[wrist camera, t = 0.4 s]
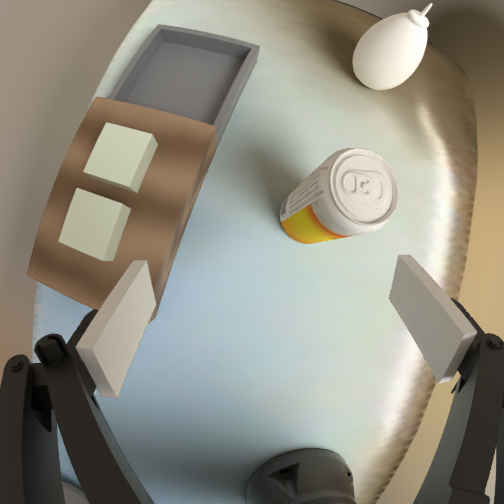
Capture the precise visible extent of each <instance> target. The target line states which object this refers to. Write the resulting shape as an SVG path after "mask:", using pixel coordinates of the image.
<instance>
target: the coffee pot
mask: <svg viewBox="0 0 504 504" xmlns="http://www.w3.org/2000/svg"><path fill="white" fill-rule="evenodd" d="M62 486H63V492H64V498H65V503H66V504H89V502H88V500H87V498H86V496H85V493H84V492H83V491H82V490H81V489H79V488H78V487H76V486H74V485H72V484H70V483H68V482H64V481H62Z"/></svg>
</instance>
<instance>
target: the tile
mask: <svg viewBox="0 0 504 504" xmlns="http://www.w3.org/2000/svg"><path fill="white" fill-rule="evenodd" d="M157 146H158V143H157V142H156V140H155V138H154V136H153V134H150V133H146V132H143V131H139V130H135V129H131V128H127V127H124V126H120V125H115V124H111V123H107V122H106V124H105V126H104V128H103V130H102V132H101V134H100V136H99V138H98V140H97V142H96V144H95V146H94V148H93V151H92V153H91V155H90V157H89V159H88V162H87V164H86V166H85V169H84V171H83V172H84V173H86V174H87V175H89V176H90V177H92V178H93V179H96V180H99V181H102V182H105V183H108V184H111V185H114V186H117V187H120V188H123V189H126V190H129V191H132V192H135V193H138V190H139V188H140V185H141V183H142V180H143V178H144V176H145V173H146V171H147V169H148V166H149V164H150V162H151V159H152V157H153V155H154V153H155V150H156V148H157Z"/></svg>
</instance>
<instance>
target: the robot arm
mask: <svg viewBox="0 0 504 504" xmlns="http://www.w3.org/2000/svg"><path fill="white" fill-rule="evenodd" d="M389 299H390V301H391V303H392V304H393V306H394V307H395V309H396V311H397V312H398V314H399V315H400V317H401V319H402V320H403V322H404V324H405V325H406V327H407V328H408V330H409V332H410V333H411V335H412V337H413V339H414V340H415V342H416V344H417V345H418V347H419V349H420V351H421V352H422V354H423V356H424V358H425V359H426V361H427V363H428V365H429V367H430V368H431V370H432V372H433V374H434V376H435V378H436V380H437V381H438V383H443V382H446V381H450V380H452V379H453V377H454V375H455V374H456V372H457V370H458V371H459V373H460V375H461V376H460V378H459V380H458V381H457V383H456V385H455V387H454V388H453V390H452V391H451V393H453V392H454V391H455V394H454V398H453V402H452V405H451V409H450V413H449V416H448V419H447V422H446V425H445V428H444V431H443V434H442V437H441V440H440V443H439V445H438V448H437V451H436V453H435V456H434V459H433V461H432V464H431V466H430V468H429V471H428V473H427V475H426V477H425V480H424V482H423V484H422V486H421V488H420V490H419V493H418V494H417V497H416V499H415V500H414V502H413V504H489V503H490V498H489V496H487V495H485V488H486V485H487V481H488V477H489V474H490V470H491V466H492V462H493V457H494V453H495V449H496V453H497V454H496V483H495V484H496V485H495V496H494V504H504V342H503V341H502V339H500V337H498V336H496V335H494V334H490V333H487V334H485V333H484V332H483V330H482V329H481V328H480V327H479V325H478V324H477V323H476V322H475V320H474V319H473V318H472V317H470V314H469V313H468V312H466V310H465V308H464V307H463V306H462V305H461V304H460V303H459V302H457V301H456V300H454V299H453V298H449V297H448V295H447V294H446V293H445V292H444V291H443V290H442V289H441V287H440V286H439V285H438V284H437V283H436V282H435V281H434V280H433V279H432V277H431V276H430V275H429V274H428V273H427V272H426V271H425V270H424V269H423V268H422V267H421V266H420V264H419V263H418V262H417V261H416V260H415V259H414V258H413V257H412V256H411V255H398V260H397V264H396V269H395V274H394V278H393V283H392V287H391V291H390V295H389ZM155 306H156V301H155V297H154V292H153V288H152V283H151V278H150V273H149V269H148V264H147V260H134V261H133V262H132V263H131V265H130V266H129V267H128V269H127V270H126V272H125V273H124V274H123V276H122V277H121V279H120V280H119V282H118V283H117V284H116V286H115V287H114V289H113V290H112V292H111V293H110V295H109V296H108V297H107V299H106V300H105V302H104V303H103V305H102V306H101V308H100V309H99V310H96V309H93V310H92V311H91V312H89V313H88V314H87V315H86V316H85V317H84V318H83V320H82V321H81V323H80V325H79V326H78V327H77V329H76V331H75V332H74V333H73V335H72V336H71V338H70V340H69V341H68V343H67V344H66V343H65V341H64V339H63V337H62V336H61V335H59V334H49V335H46V336H44V337H42V338H41V339H40V340H39V341H38V342H37V343H36V345H35V348H34V351H35V353H36V355H37V357H38V358H39V360H40V362H41V363H32V364H31V362H30V361H29V359H28V358H27V356H25V355H16V356H14V357H12V358H11V359H9V361H8V362H7V363H6V365H5V368H4V372H3V377H2V382H1V387H0V504H66V503H65V498H64V492H63V486H62V479H61V471H60V462H59V452H58V438H57V423H58V427H59V430H60V433H61V436H62V439H63V442H64V445H65V448H66V450H67V453H68V456H69V458H70V461H71V464H72V466H73V469H74V471H75V473H76V476H77V478H78V480H79V483H80V485H81V487H82V489H83V491H84V493H85V496H86V498H87V500H88V502H89V504H155V503H154V502H153V501H152V499H151V498H150V496H149V495H148V493H147V492H146V490H145V489H144V487H143V486H142V484H141V483H140V481H139V479H138V478H137V476H136V475H135V473H134V471H133V470H132V468H131V466H130V465H129V463H128V461H127V460H126V458H125V456H124V454H123V452H122V451H121V449H120V447H119V445H118V443H117V441H116V440H115V438H114V436H113V434H112V432H111V430H110V428H109V426H108V424H107V422H106V420H105V418H104V415H103V413H102V411H101V409H100V407H99V405H98V402H97V400H96V398H95V396H94V395H93V393H94V391H95V389H96V387H97V389H98V391H99V392H100V394H101V396H105V397H111V398H118V396H119V393H120V391H121V388H122V385H123V383H124V380H125V378H126V375H127V373H128V370H129V368H130V365H131V363H132V360H133V358H134V355H135V353H136V350H137V348H138V346H139V343H140V341H141V339H142V336H143V334H144V331H145V329H146V327H147V325H148V322H149V320H150V318H151V315H152V313H153V311H154V309H155ZM246 496H247V502H248V504H356V502H355V496H354V486H353V476H352V472H351V470H350V468H349V467H348V465H347V464H346V462H345V461H344V459H343V458H342V457H341V456H339V455H338V454H336V453H334V452H331V451H328V450H323V449H304V450H298V451H293V452H290V453H286V454H283V455H281V456H278V457H276V458H274V459H272V460H270V461H268V462H267V463H265V464H264V465H262V466H261V467H260V468H259V469H257V470H256V471H255V472H254V474H253V475H252V476H251V477H250V479H249V481H248V483H247V486H246Z"/></svg>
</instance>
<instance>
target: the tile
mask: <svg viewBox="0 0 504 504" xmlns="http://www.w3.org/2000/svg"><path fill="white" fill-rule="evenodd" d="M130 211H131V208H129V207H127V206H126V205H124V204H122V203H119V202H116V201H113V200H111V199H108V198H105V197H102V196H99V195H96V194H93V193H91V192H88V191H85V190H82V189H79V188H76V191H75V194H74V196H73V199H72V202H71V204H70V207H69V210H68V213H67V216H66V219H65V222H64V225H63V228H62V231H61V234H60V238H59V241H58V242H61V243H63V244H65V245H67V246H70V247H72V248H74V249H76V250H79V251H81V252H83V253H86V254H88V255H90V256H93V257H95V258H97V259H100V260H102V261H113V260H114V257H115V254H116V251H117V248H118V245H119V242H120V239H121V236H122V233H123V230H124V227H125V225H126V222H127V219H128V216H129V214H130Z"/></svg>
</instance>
